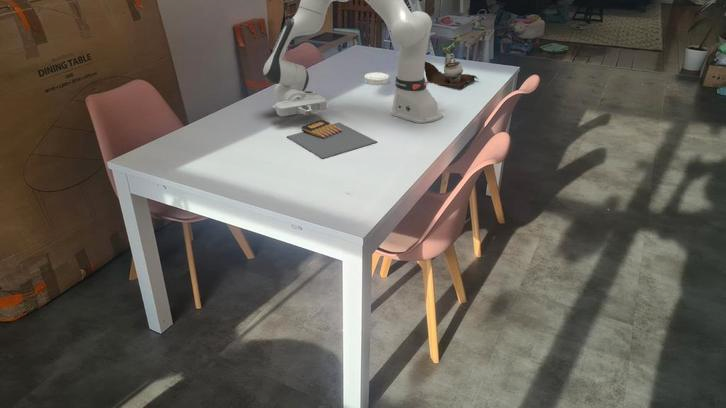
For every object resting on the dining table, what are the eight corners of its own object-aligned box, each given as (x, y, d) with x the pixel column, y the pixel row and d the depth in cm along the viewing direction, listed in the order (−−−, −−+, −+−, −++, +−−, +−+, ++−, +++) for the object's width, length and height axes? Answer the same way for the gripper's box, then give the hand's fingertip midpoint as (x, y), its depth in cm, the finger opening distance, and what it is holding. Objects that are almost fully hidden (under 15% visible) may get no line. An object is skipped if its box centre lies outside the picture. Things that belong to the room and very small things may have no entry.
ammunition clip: (301, 131, 200) (324, 140, 193) (301, 126, 199) (324, 136, 192) (321, 123, 207) (343, 132, 200) (321, 119, 206) (344, 127, 199)
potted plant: (462, 95, 248) (450, 44, 236) (428, 97, 260) (415, 48, 248) (480, 78, 260) (470, 28, 248) (446, 81, 272) (435, 33, 260)
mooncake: (388, 78, 263) (388, 71, 261) (389, 85, 253) (389, 78, 251) (364, 78, 263) (364, 71, 261) (364, 85, 252) (364, 78, 251)
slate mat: (377, 142, 193) (377, 141, 192) (322, 159, 180) (322, 158, 180) (339, 123, 209) (339, 122, 209) (286, 137, 196) (286, 136, 196)
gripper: (270, 97, 207) (282, 108, 196) (317, 90, 215) (332, 100, 204) (271, 113, 210) (283, 124, 199) (318, 105, 218) (332, 116, 208)
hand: (308, 112), depth 202 cm, fingers closed
